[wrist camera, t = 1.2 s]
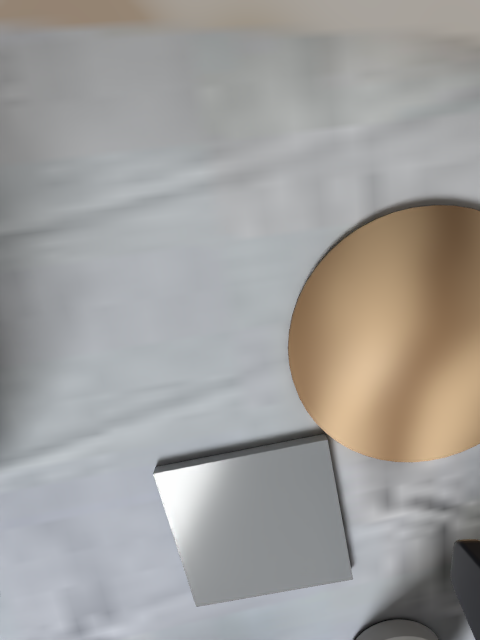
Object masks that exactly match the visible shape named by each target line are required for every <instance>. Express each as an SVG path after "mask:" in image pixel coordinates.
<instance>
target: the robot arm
mask: <svg viewBox="0 0 480 640" xmlns="http://www.w3.org/2000/svg"><path fill="white" fill-rule="evenodd" d="M450 575H451V582H452V585H453V588H454V590H455V593H456V595H457V598H458V600H459V602H460V605H461V607H462V609H463V612H464V614H465V616H466V619H467V621H468V623H469V626H470V628H471V630H472V633H473V635H474V637H475V640H480V541H479V540H476V539H466V540H457V541H456V542H455V543H454V547H453V555H452V563H451V571H450Z"/></svg>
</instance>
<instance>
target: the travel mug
mask: <svg viewBox="0 0 480 640" xmlns="http://www.w3.org/2000/svg"><path fill="white" fill-rule="evenodd" d="M356 640H439V639H438V637H437V636H436V634H435V633H434V632H433V631H431V630H430V629H429V628H427V627H426V626H424V625H423V624H420V623H417V622H415V621H410V620H398V619H396V620H387V621H384V622H380V623H377V624H375V625H373V626H371V627H369V628H368V629H366V630H365V631H364V632H362V633H361V634H360V635H359V636H358V637H357V639H356Z"/></svg>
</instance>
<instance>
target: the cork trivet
mask: <svg viewBox="0 0 480 640" xmlns="http://www.w3.org/2000/svg"><path fill="white" fill-rule="evenodd" d="M288 355H289V365H290V370H291V374H292V379H293V382H294V385H295V387H296V390H297V393H298V395H299V398H300V400H301V401H302V403H303V405H304V407H305V409H306V410H307V412H308V413H309V414H310V416H311V417H312V418H313V420H314V421H315V422H316V423H317V424H318V425H319V426H320V427H321V428H322V429H323V430H324V431H325V432H326V433H327V434H328V435H329V436H331V437H332V438H333V439H335V440H336V441H337V442H339V443H340V444H342V445H344V446H346V447H347V448H349V449H351V450H353V451H356V452H358V453H361V454H363V455H366V456H369V457H373V458H377V459H380V460H387V461H394V462H420V461H430V460H435V459H439V458H444V457H448V456H451V455H454V454H457V453H460V452H463V451H465V450H467V449H469V448H472V447H474V446H476V445H478V444H480V211H478V210H475V209H471V208H465V207H459V206H446V205H432V206H423V207H414V208H409V209H405V210H401V211H397V212H393V213H390V214H388V215H385V216H383V217H380V218H378V219H375V220H373V221H371V222H369V223H368V224H366V225H364V226H362V227H360V228H358V229H357V230H355V231H354V232H353V233H351V234H350V235H348V236H347V237H346V238H344V239H343V240H342V241H340V242H339V243H338V244H337V245H336V246H335V247H334V248H333V249H332V250H331V251H330V252H328V254H327V255H326V256H325V257H324V258H323V259H322V261H321V262H320V263H319V264H318V265H317V266H316V268H315V269H314V271H313V272H312V274H311V275H310V277H309V278H308V280H307V281H306V283H305V285H304V287H303V289H302V291H301V293H300V295H299V297H298V300H297V303H296V306H295V309H294V312H293V315H292V319H291V324H290V329H289V340H288Z"/></svg>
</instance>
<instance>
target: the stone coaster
mask: <svg viewBox="0 0 480 640" xmlns="http://www.w3.org/2000/svg"><path fill="white" fill-rule="evenodd" d="M153 475H154V478H155V481H156V484H157V487H158V490H159V493H160V496H161V499H162V502H163V506H164V509H165V512H166V515H167V518H168V521H169V524H170V527H171V530H172V533H173V536H174V539H175V543H176V546H177V549H178V552H179V555H180V558H181V561H182V564H183V567H184V570H185V573H186V576H187V579H188V583H189V586H190V589H191V592H192V595H193V598H194V601H195V604H196V607H199V606H204V605H210V604H216V603H222V602H227V601H233V600H239V599H244V598H250V597H256V596H261V595H267V594H273V593H278V592H284V591H290V590H296V589H301V588H307V587H313V586H318V585H324V584H330V583H335V582H341V581H347V580H353V576H352V571H351V566H350V560H349V555H348V549H347V544H346V538H345V533H344V527H343V522H342V516H341V511H340V505H339V500H338V494H337V489H336V483H335V478H334V472H333V467H332V461H331V456H330V450H329V445H328V440H327V437H326V435H325V434H322V435H316V436H311V437H306V438H301V439H296V440H291V441H286V442H281V443H276V444H271V445H266V446H260V447H255V448H250V449H245V450H240V451H235V452H230V453H225V454H220V455H215V456H210V457H204V458H199V459H194V460H189V461H184V462H179V463H174V464H169V465H164V466H159V467H155V470H154V473H153Z"/></svg>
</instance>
